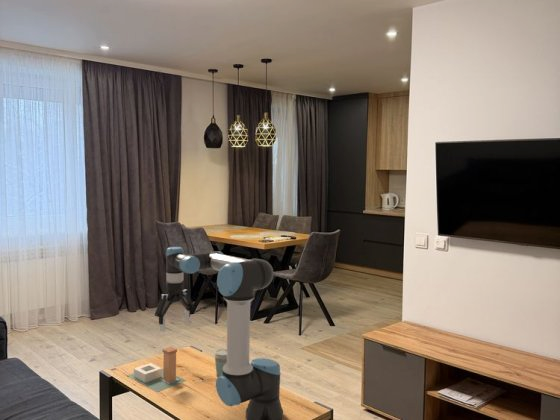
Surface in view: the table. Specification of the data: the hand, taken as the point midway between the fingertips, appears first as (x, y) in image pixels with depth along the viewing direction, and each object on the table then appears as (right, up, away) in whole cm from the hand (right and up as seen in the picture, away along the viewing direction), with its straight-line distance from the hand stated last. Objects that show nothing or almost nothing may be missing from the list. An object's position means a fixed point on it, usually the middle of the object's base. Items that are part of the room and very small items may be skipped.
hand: (175, 327), depth 222 cm
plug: (-3, -24, +2) cm, 25 cm away
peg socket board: (-9, -26, +4) cm, 28 cm away
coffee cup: (+20, -26, +11) cm, 35 cm away
